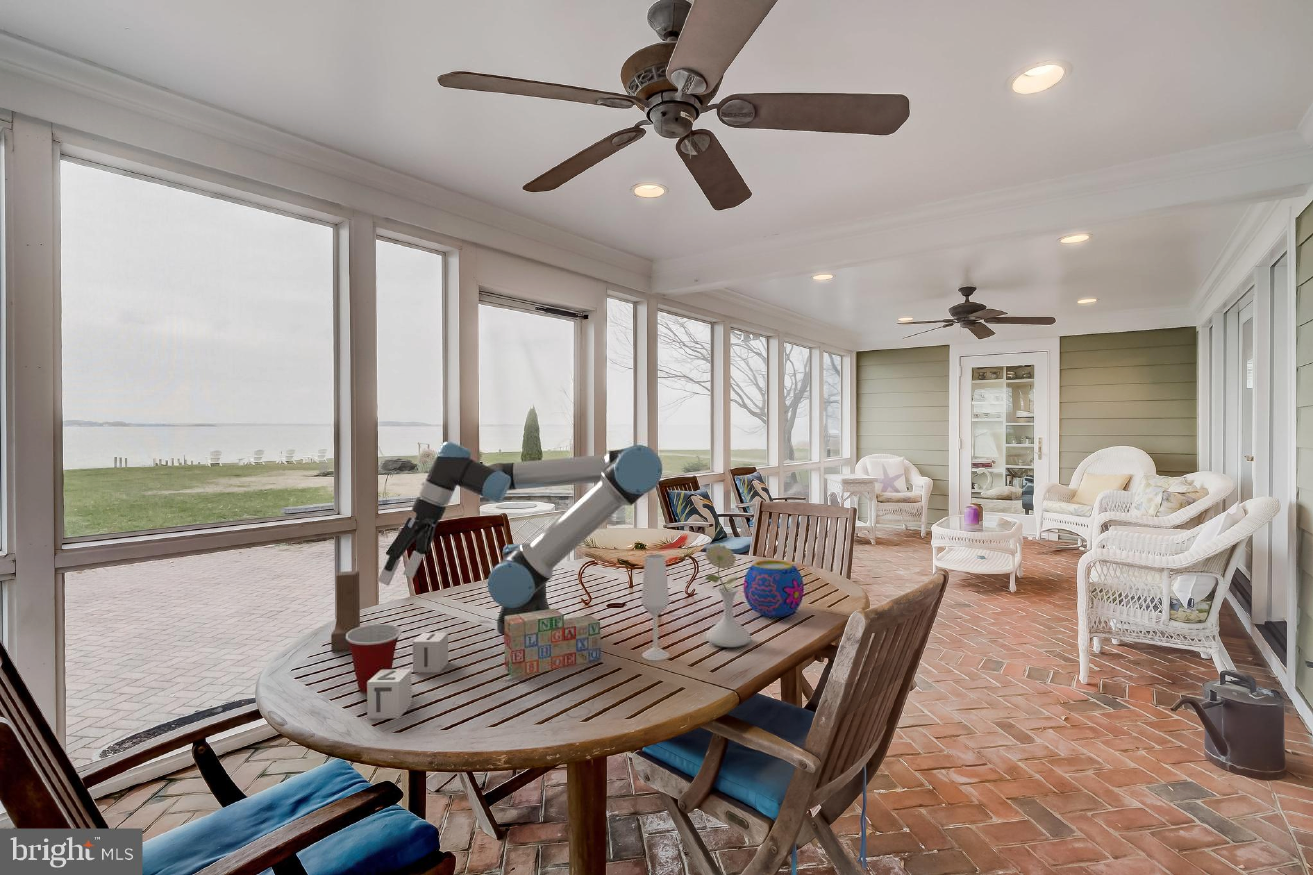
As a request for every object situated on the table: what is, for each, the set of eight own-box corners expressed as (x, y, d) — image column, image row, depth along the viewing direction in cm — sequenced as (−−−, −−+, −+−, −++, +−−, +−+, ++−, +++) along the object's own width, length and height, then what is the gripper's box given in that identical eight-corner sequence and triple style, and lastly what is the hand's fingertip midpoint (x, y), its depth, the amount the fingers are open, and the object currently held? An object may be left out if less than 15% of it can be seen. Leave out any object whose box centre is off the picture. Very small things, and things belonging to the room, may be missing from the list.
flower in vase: (759, 643, 155) (759, 545, 154) (733, 655, 146) (733, 551, 146) (718, 631, 163) (718, 539, 163) (691, 642, 155) (691, 545, 155)
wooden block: (350, 650, 151) (349, 578, 151) (330, 652, 150) (330, 579, 150) (360, 638, 160) (359, 570, 159) (341, 639, 159) (341, 571, 159)
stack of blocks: (591, 652, 149) (590, 602, 149) (601, 660, 144) (600, 608, 144) (504, 668, 139) (503, 615, 139) (511, 678, 134) (510, 622, 134)
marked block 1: (448, 662, 143) (448, 631, 143) (439, 672, 137) (438, 640, 137) (422, 662, 143) (422, 632, 143) (412, 672, 137) (412, 641, 137)
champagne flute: (655, 648, 151) (655, 552, 151) (675, 654, 147) (674, 556, 146) (636, 655, 147) (635, 556, 146) (655, 662, 142) (654, 560, 142)
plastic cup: (365, 703, 122) (365, 643, 121) (335, 691, 127) (334, 634, 127) (412, 683, 131) (412, 628, 131) (382, 673, 136) (381, 620, 136)
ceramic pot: (812, 611, 181) (812, 561, 181) (793, 628, 166) (792, 573, 166) (757, 603, 190) (756, 555, 190) (734, 618, 175) (733, 566, 175)
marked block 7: (411, 704, 121) (411, 668, 121) (398, 718, 115) (398, 681, 115) (381, 704, 121) (381, 668, 121) (367, 719, 115) (366, 681, 115)
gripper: (438, 495, 166) (404, 568, 164) (397, 494, 141) (357, 579, 139) (462, 506, 165) (429, 579, 163) (426, 507, 140) (386, 593, 139)
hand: (396, 579), depth 151 cm, fingers open, 13 cm apart
